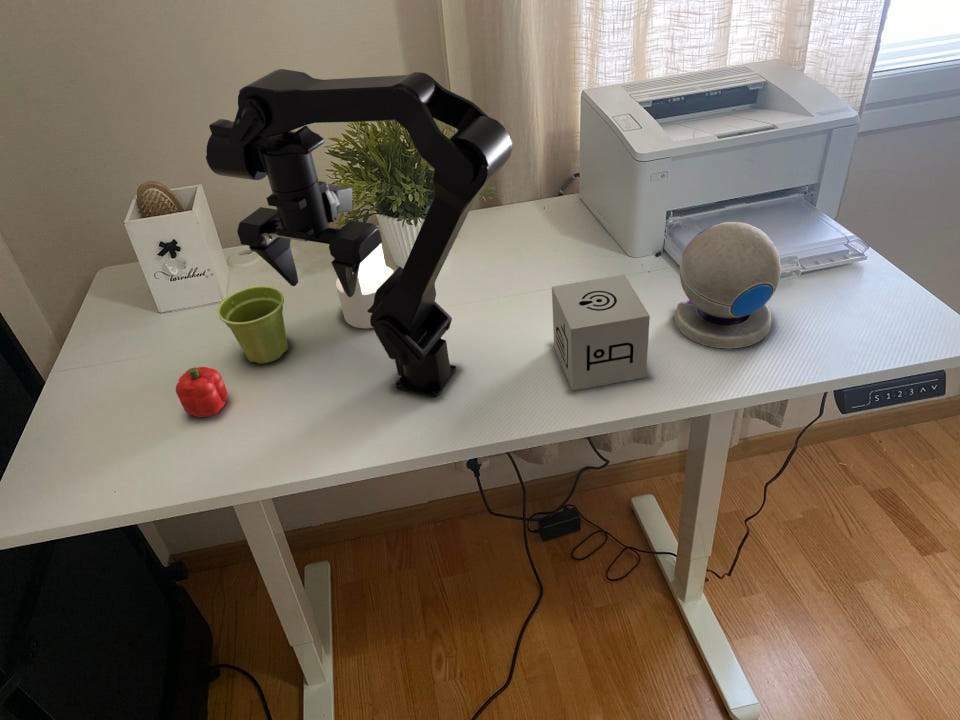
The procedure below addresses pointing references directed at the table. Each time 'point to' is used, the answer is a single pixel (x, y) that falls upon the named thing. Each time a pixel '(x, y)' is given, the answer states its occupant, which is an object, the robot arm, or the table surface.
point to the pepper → (201, 391)
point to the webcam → (728, 285)
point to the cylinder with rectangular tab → (364, 289)
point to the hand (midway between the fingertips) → (322, 289)
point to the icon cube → (600, 331)
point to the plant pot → (256, 322)
